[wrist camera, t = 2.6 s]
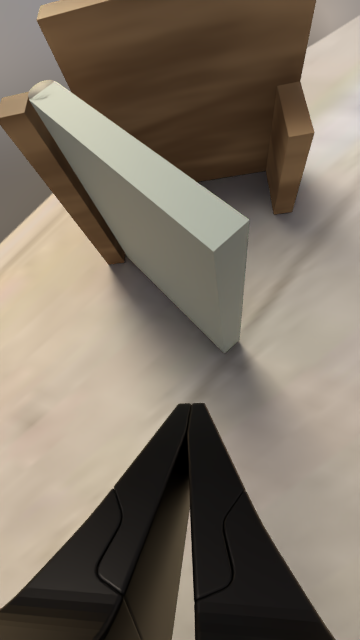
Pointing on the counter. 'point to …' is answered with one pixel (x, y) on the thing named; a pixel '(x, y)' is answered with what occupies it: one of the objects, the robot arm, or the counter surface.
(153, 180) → the grey square panel
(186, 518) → the robot arm
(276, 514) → the counter surface
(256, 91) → the stool frame
